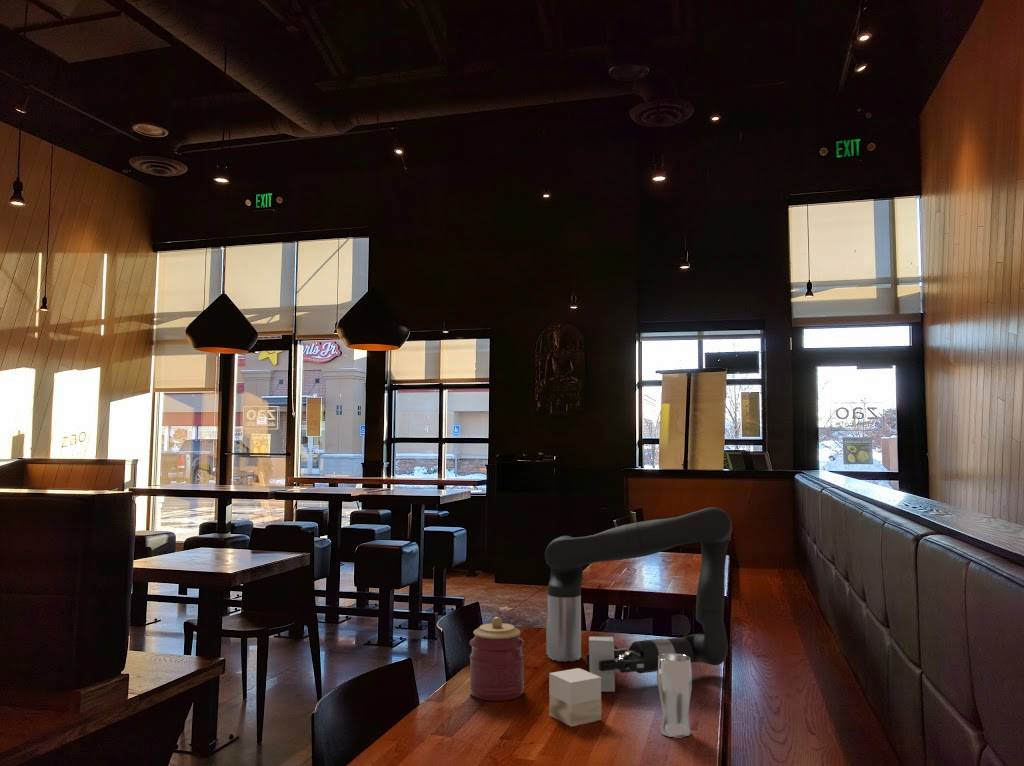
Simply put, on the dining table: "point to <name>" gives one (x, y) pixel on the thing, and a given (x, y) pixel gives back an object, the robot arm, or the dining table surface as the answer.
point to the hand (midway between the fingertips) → (592, 662)
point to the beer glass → (674, 693)
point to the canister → (496, 662)
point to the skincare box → (598, 652)
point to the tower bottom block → (575, 711)
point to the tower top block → (575, 686)
